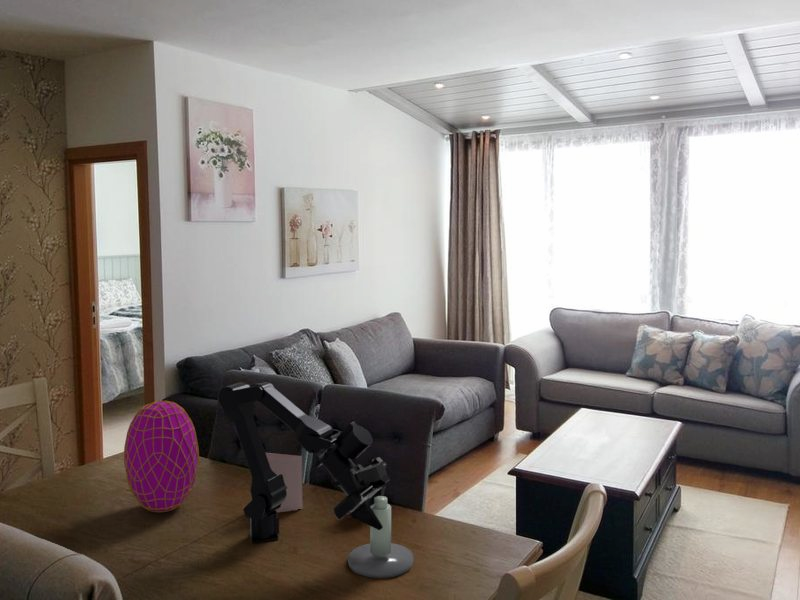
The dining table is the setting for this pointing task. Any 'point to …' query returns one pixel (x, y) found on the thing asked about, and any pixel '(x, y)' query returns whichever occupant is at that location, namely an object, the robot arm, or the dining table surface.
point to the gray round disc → (380, 562)
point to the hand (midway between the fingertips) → (386, 524)
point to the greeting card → (288, 478)
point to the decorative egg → (161, 456)
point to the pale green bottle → (382, 538)
